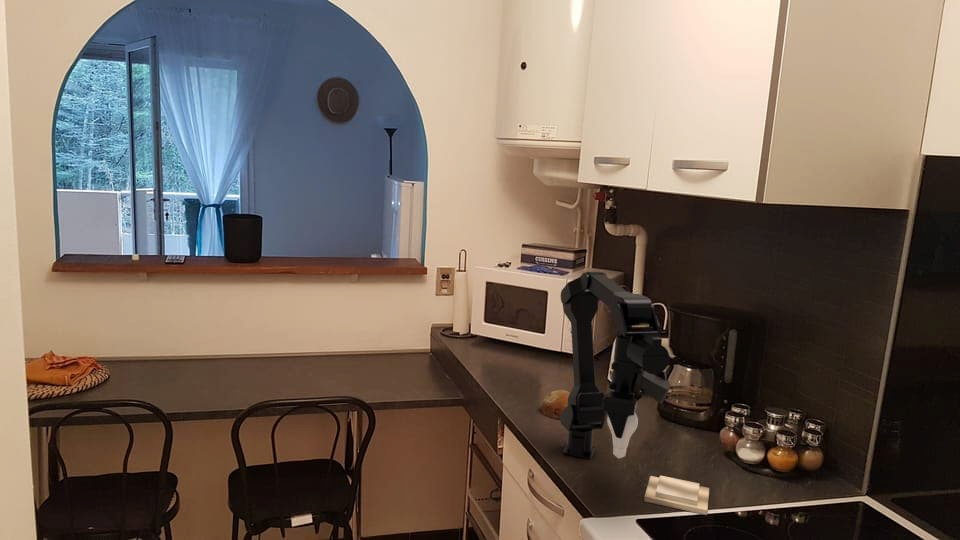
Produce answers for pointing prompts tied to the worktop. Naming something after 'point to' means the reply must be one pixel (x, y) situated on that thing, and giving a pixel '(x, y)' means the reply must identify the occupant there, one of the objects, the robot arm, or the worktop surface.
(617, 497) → the worktop surface
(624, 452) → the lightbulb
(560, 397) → the bread roll
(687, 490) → the base
